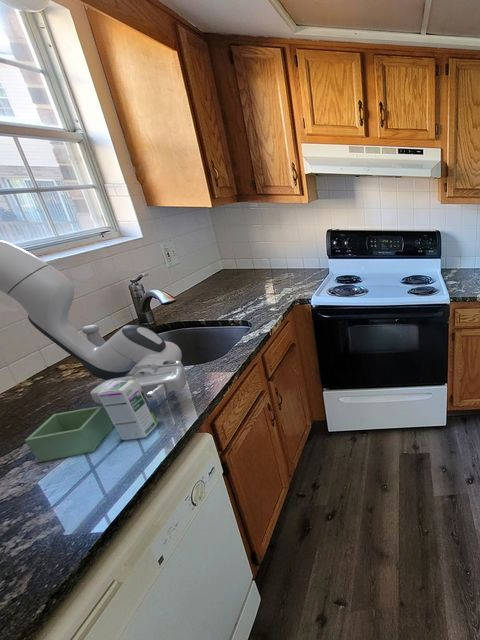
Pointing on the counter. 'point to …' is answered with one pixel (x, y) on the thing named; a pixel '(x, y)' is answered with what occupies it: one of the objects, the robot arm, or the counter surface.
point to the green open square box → (70, 433)
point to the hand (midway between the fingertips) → (128, 401)
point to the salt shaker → (93, 335)
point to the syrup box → (128, 409)
